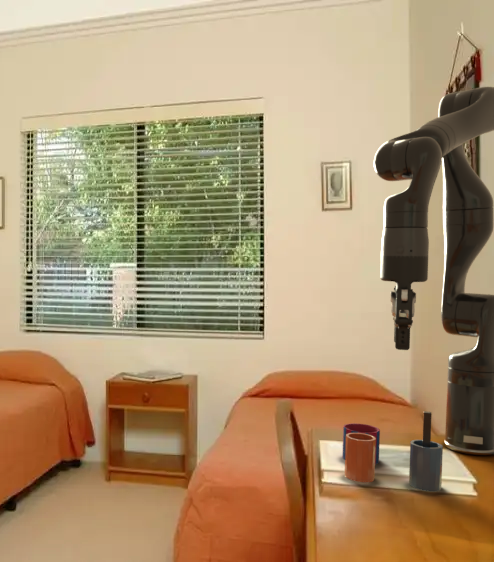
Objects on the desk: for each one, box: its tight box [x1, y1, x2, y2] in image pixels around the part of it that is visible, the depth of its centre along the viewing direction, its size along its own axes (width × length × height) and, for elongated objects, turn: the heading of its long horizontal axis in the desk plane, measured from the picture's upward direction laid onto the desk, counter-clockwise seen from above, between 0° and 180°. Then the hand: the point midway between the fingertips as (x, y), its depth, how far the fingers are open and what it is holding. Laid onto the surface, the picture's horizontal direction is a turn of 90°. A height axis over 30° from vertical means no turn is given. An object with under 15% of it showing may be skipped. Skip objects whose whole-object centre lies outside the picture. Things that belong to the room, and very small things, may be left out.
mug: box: [342, 422, 381, 465], centre depth 117 cm, size 7×10×7 cm
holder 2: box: [408, 439, 444, 493], centre depth 104 cm, size 5×5×8 cm
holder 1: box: [344, 433, 376, 483], centre depth 108 cm, size 5×5×8 cm
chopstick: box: [421, 410, 433, 448], centre depth 104 cm, size 1×1×13 cm
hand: (401, 346), depth 105 cm, fingers open, 8 cm apart
